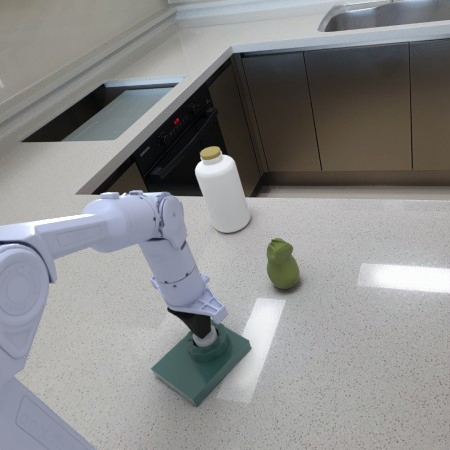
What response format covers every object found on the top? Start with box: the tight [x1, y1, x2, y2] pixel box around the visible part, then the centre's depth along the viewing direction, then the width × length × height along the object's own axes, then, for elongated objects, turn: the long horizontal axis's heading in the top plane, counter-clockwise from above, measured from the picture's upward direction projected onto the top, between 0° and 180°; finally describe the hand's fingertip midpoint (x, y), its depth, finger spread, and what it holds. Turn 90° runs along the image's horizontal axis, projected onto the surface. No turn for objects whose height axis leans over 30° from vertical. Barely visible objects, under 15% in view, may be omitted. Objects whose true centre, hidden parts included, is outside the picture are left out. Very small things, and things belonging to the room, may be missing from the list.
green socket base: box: [150, 318, 252, 407], centre depth 71 cm, size 12×10×4 cm
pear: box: [266, 237, 301, 290], centre depth 80 cm, size 6×5×10 cm
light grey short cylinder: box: [193, 325, 218, 348], centre depth 71 cm, size 4×4×2 cm
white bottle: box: [194, 145, 251, 234], centre depth 96 cm, size 8×8×18 cm
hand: (204, 333), depth 71 cm, fingers closed, pressing on light grey short cylinder
